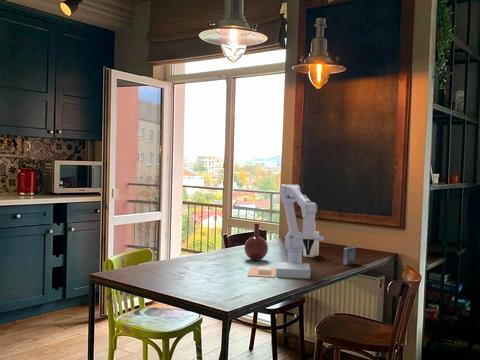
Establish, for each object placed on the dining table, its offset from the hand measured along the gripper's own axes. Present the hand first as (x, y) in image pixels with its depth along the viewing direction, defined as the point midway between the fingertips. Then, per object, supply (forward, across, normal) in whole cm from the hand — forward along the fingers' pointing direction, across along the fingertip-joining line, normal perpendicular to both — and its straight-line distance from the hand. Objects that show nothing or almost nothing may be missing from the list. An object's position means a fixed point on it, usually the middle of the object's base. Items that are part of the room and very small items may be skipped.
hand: (307, 254), depth 235 cm
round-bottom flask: (+10, -27, +28) cm, 40 cm away
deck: (+9, -7, -2) cm, 12 cm away
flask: (+10, +24, +29) cm, 39 cm away
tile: (+7, -21, -2) cm, 22 cm away
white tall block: (+10, +4, +49) cm, 50 cm away
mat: (+9, -22, -2) cm, 24 cm away
